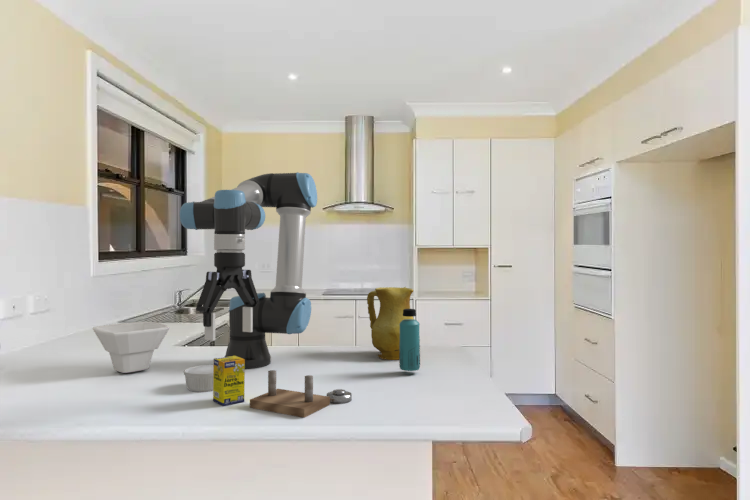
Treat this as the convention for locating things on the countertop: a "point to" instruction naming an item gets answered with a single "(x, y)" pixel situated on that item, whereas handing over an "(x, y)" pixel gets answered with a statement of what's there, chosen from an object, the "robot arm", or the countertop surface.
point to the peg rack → (290, 399)
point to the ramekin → (199, 378)
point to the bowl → (131, 343)
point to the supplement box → (228, 380)
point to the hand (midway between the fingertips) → (229, 335)
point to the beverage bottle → (409, 342)
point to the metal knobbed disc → (339, 396)
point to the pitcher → (388, 319)
